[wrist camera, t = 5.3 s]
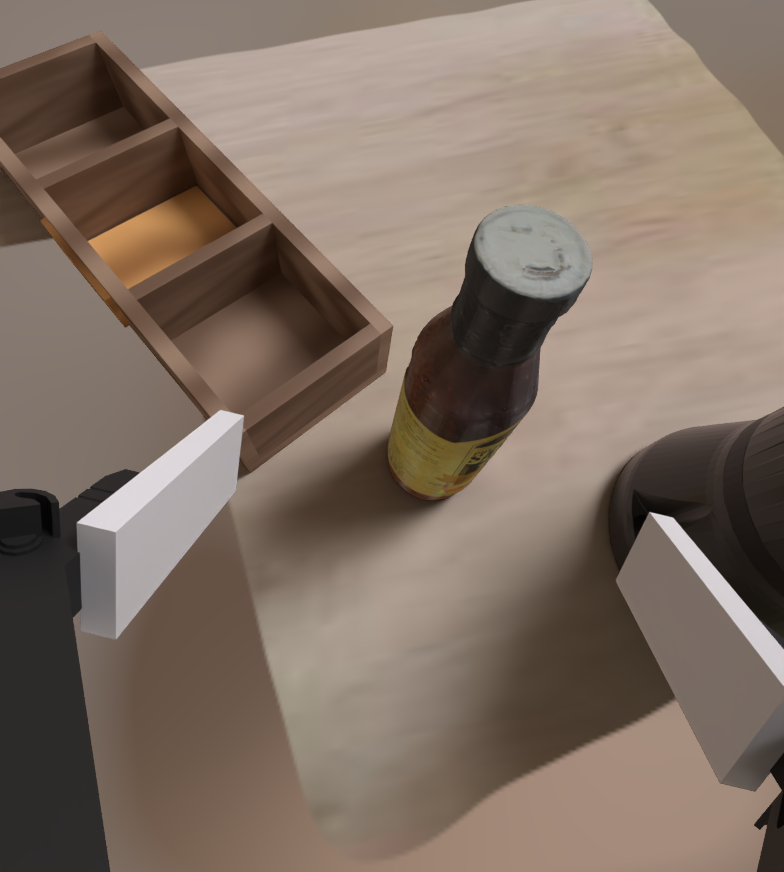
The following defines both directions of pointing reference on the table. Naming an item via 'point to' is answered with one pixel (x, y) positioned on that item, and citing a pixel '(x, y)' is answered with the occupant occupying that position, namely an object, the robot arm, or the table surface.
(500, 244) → the sauce bottle
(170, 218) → the wooden compartment tray
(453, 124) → the table surface
